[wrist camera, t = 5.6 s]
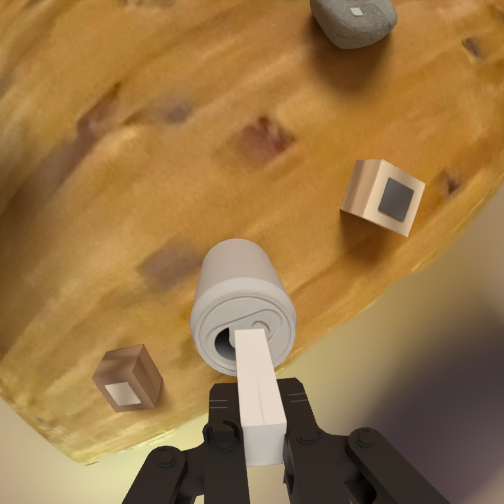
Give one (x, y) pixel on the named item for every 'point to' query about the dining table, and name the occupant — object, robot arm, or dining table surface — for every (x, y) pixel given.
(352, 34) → the stone
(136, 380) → the walnut block
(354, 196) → the beech block
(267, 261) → the beverage can
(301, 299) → the dining table surface
